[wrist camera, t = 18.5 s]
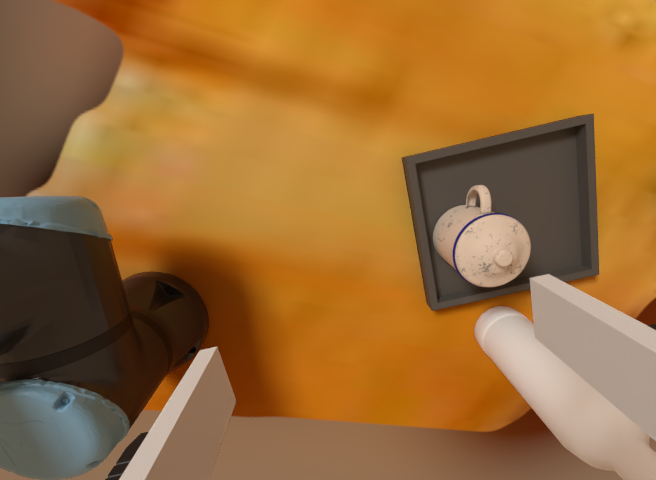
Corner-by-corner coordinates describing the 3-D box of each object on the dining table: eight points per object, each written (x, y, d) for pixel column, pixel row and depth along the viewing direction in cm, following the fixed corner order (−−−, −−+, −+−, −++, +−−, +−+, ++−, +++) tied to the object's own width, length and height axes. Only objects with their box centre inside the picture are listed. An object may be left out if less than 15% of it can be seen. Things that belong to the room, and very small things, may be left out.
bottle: (479, 357, 54) (665, 595, 25) (467, 315, 52) (651, 518, 23) (529, 341, 53) (778, 564, 24) (518, 297, 52) (773, 482, 22)
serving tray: (426, 303, 51) (432, 310, 49) (401, 157, 46) (406, 157, 44) (585, 268, 51) (599, 274, 48) (578, 115, 45) (593, 113, 43)
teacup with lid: (493, 261, 49) (544, 293, 38) (430, 267, 49) (463, 301, 38) (495, 178, 46) (551, 186, 35) (429, 184, 46) (464, 195, 35)
